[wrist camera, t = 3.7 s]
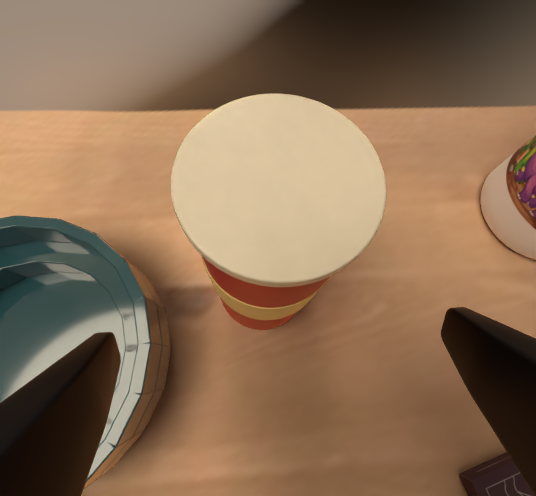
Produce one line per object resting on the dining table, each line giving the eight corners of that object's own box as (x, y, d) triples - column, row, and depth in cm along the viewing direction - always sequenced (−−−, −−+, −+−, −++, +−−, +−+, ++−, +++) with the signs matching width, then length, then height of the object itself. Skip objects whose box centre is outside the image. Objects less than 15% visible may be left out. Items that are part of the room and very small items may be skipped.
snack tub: (268, 352, 19) (299, 334, 7) (198, 291, 20) (122, 185, 8) (324, 281, 20) (426, 169, 9) (257, 228, 21) (266, 62, 10)
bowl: (25, 572, 15) (-64, 655, 11) (-133, 376, 17) (-257, 380, 13) (220, 343, 19) (211, 337, 15) (69, 207, 21) (24, 168, 17)
